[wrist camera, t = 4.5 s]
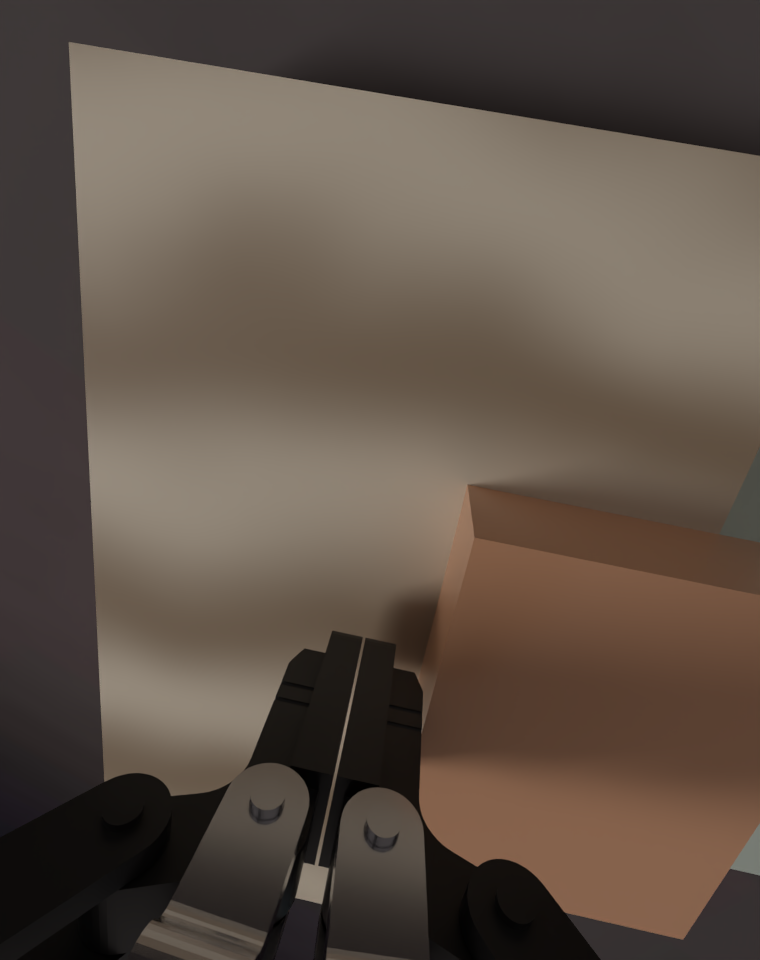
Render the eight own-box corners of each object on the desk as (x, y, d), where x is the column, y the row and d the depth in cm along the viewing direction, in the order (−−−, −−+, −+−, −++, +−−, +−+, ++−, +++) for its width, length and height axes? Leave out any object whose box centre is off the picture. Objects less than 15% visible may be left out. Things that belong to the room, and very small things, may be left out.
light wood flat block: (177, 112, 13) (69, 42, 9) (749, 209, 12) (885, 176, 8) (167, 752, 21) (108, 854, 17) (509, 828, 20) (525, 951, 17)
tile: (467, 484, 11) (474, 537, 9) (795, 549, 11) (892, 622, 8) (393, 776, 14) (384, 870, 12) (643, 832, 14) (682, 939, 12)
